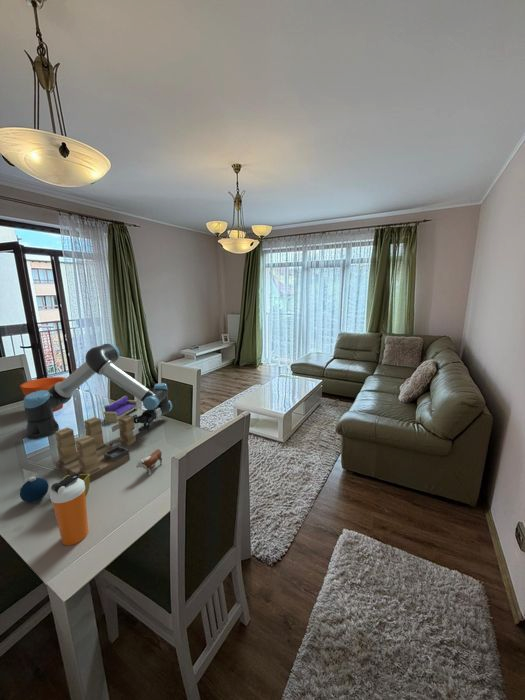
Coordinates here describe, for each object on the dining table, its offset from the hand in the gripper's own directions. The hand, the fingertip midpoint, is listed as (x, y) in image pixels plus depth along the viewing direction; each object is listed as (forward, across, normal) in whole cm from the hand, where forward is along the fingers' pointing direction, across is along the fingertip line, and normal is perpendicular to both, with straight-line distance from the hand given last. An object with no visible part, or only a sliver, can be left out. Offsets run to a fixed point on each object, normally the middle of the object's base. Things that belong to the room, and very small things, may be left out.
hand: (122, 431), depth 142 cm
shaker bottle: (+49, -29, -8) cm, 58 cm away
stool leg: (-3, 0, -8) cm, 8 cm away
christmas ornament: (+42, +1, -8) cm, 42 cm away
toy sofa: (-29, +31, -8) cm, 44 cm away
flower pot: (+38, -15, -8) cm, 42 cm away
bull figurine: (+13, -29, -8) cm, 33 cm away
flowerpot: (-22, +89, -8) cm, 92 cm away
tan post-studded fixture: (+17, +1, -8) cm, 19 cm away
